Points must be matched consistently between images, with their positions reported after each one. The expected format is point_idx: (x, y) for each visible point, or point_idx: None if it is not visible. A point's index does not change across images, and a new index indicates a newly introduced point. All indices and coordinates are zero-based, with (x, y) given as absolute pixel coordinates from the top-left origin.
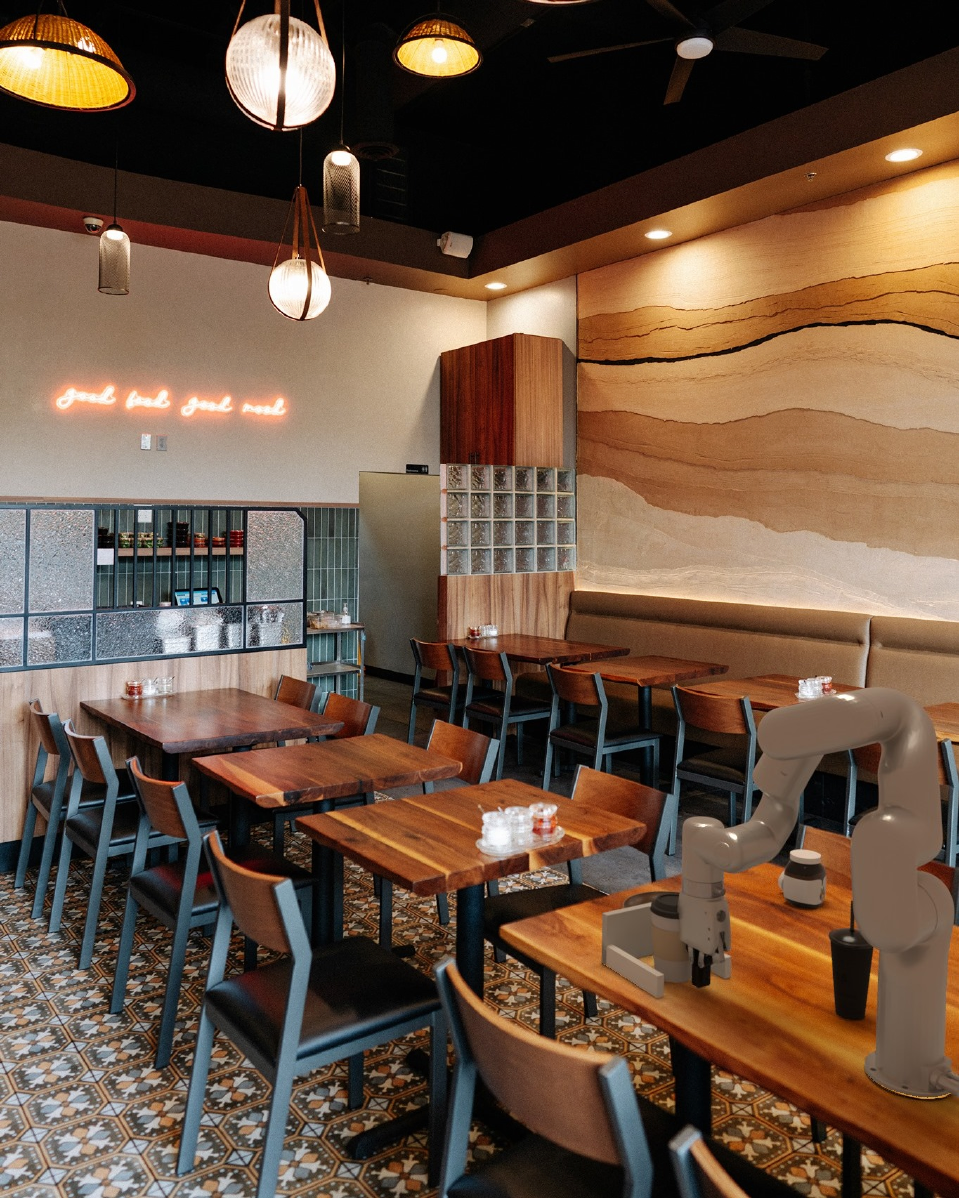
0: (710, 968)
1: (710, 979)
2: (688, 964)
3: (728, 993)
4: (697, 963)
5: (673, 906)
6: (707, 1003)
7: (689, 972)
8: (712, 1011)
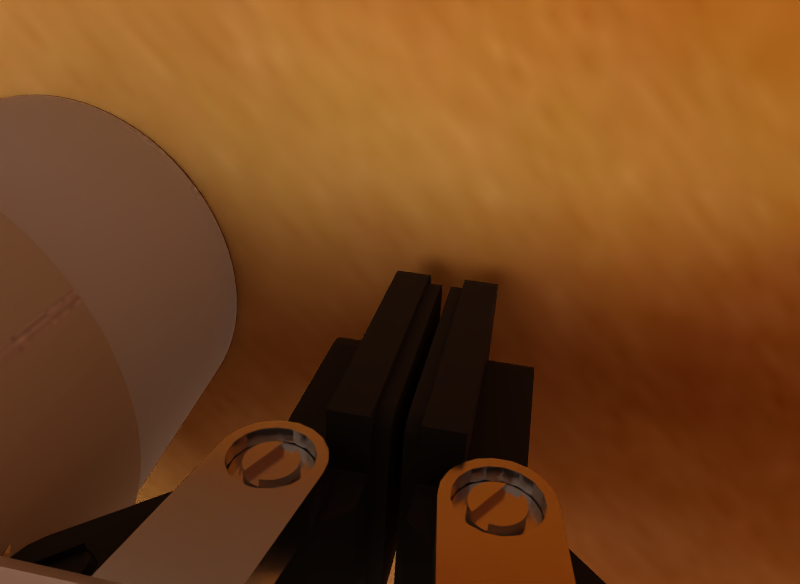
0: (475, 386)
1: (491, 303)
2: (155, 360)
3: (676, 131)
4: (365, 573)
5: None
6: (659, 460)
7: (193, 278)
8: (787, 539)
